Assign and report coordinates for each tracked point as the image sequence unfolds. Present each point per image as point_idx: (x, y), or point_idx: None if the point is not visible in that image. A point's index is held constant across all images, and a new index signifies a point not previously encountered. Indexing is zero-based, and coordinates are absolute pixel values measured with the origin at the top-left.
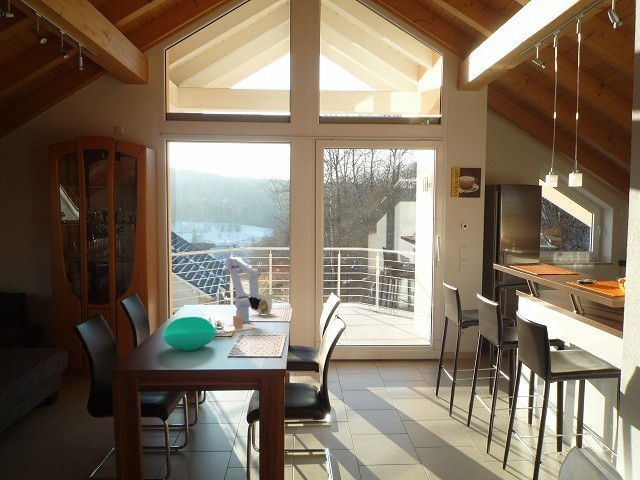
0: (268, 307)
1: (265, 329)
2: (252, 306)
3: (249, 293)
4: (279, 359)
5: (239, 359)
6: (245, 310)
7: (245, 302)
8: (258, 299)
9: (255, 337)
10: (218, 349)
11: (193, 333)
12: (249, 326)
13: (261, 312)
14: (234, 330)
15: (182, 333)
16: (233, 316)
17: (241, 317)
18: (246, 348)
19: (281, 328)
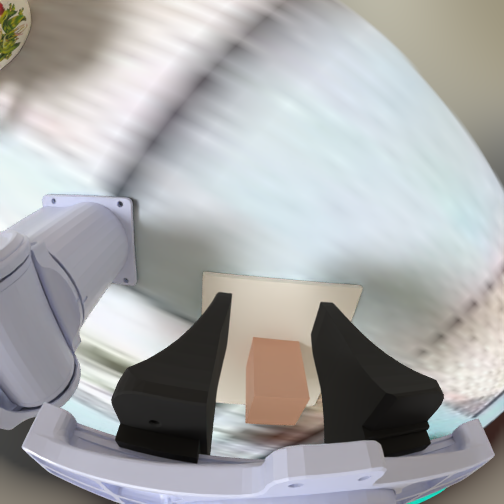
0: (10, 3)
1: (418, 243)
2: (225, 342)
3: (45, 468)
4: None
5: (497, 403)
6: (89, 292)
7: (38, 337)
8: (419, 420)
9: (460, 343)
10: (430, 431)
11: (438, 492)
12: (300, 298)
13: (6, 59)
14: (315, 383)
15: (422, 501)
16: (255, 423)
17: (306, 398)
18: (484, 386)
19: (467, 155)
